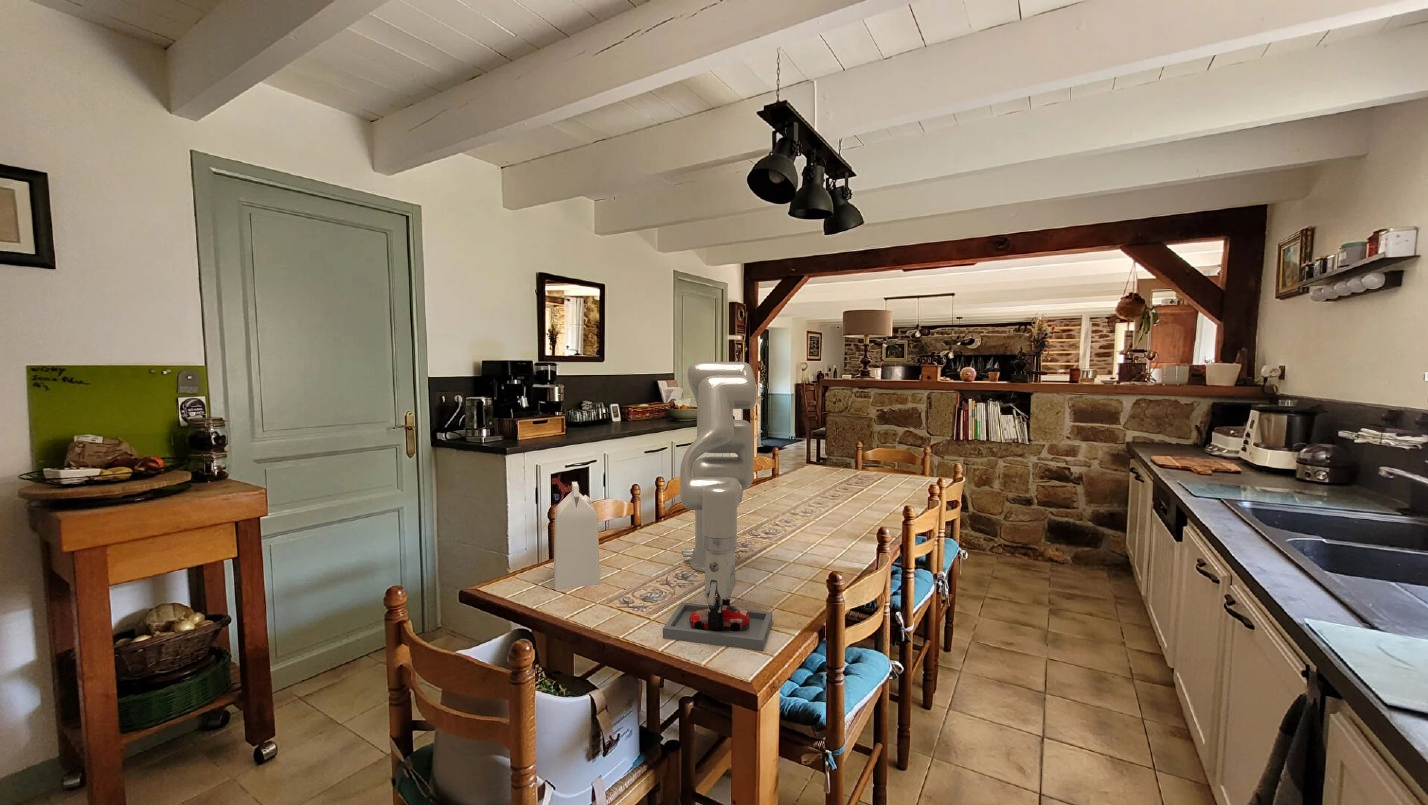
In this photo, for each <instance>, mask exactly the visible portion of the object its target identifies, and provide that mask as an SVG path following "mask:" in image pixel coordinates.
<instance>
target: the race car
mask: <svg viewBox="0 0 1428 805" xmlns="http://www.w3.org/2000/svg"><path fill="white" fill-rule="evenodd" d="M718 606H719V605H718ZM745 609H746V608H740V607H738V606H734V605H730V606H729V605H722V612H723V629H730V627H731V629H732V630H733V631H738V630H739V628H740V629H744V628H747V627H748V626H749V622H750V617H749V615H748V611H747V610H745ZM689 622H690V624H691V625H692V626H693V627H696V629H698V630H701V629H703V627H704V628H708V609H703V610H697V611H695V612H693V613H692V614H691V615H690V618H689Z"/></svg>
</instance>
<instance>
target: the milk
mask: <svg viewBox="0 0 1428 805" xmlns="http://www.w3.org/2000/svg"><path fill="white" fill-rule="evenodd" d="M598 519H599V518H598V512H597V509H596V507H595V505H594V504H593V500H592V499H591V498H590V497H589V496H588V495H587V494H584V495H583V494H582V493H581V492H580V486H579V484H578V481H571V492H570V493H568V494H567V495H566V497H564V498H563V499H562V500H561V501H560V502H559V503H558V504H557V505H556V507H555V511H554V542H553V543H554V546H553V551H554V552H553V580H554V589H555V591H557V590H564V589H572V588H582V587H590V586H599V585H601V571H600V570H601V568H600V567H601V565H600V564H601V562H600V542H599V524H598V523H599V522H598Z"/></svg>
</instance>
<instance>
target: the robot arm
mask: <svg viewBox="0 0 1428 805" xmlns="http://www.w3.org/2000/svg"><path fill="white" fill-rule="evenodd" d="M687 381H688V384H689V385H688V386H689V387H690V389H691V390H690V391H691V393H692V394H693V397H694V399H695V403H696V404H695V405H696V411H697V412H696V438H695V440H693V442H692V443H690V445H689V446H688V447H687V449H686V451H685V452H684V454H683V457H682V459H681V462H680V469H679V470H680V471H679V472H680V473H679V474H680V475H679V479H680V480H679V481H680V482H679V483H680V484H679V495H680V496H679V497H680V503H681V505H682V506H683V508H685V509H686V510H690V511H695V512H694V517H695V518H694V524H695V525H694V531H695V532H694V536H695V537H694V538H695V540H694V542H695V543H694V544H695V546H694V547H693V548H686V547H682V549H681V555H682V556H683V558H690V560H689V566H690V568H691V569H694V570H695V571H697V572H701V573H702V572H703V573H704V594H705V597H706V598H707V599H708V600H707V605H708V629H710V630H718V631H722V630H723V612H722V605H729V606H731V599H730V597H731V594H732V592H733V591H734V589H735V587H736V583H737V581H736V580H737V578H736V575H737V574H736V573H737V572H736V556H735V555H736V554H735V552H736V551H737V549H738V544H737V542H738V536H737V535H738V507H739V506H740V503H742V501H743V496H744V495H743V494H744V490H747V489H749V488H750V487H751V486H752V484H753V481H754V442H755V441H754V430H753V427H752V425H751V423H750V422H749V421H748V420H745V419H734V410H749V409H750V410H751V409H753V408H755V405H756V403H757V398H758V391H757V390H758V388H757V383H756V382H757V381H756V378H755V375H754V371H753V368H752V367H751V364H749V362H748V363H747V362H744V361H700V362H694V363H692V364H690V365H689V366H688V368H687ZM705 453H707V454H736V455H737V456H704V457H701V456H702V455H704V454H705ZM718 605H719V606H718Z"/></svg>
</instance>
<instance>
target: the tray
mask: <svg viewBox="0 0 1428 805" xmlns="http://www.w3.org/2000/svg"><path fill="white" fill-rule="evenodd" d="M703 609H708V604H703V603H702V604H701V603H694V602H693V603H691V602H684V601H683V602H682V601H681V603H680V604H679V605H678V607H677V608H676V609H675V611H674V612H673V613H672V615H671V616H670V617H669V619H668V620H667V621H666V623H665V624H664V626H663V627H662V639H665V640H672V641H673V640H674V641H680V642H681V641H683V642H691V643H695V644H696V643H697V644H698V643H699V644H705V645H713V646H723V647H727V648H728V647H729V648H737V649H745V650H752V651H759V652H763V651H764V649H765V646H766V642H767V640H768V636H769V634H770V630H771V627H772V625H773V611H764V610H757V609H746V608H744V609H745V610H747V611H748V615H749V617H750V622H749V626H748V627H747V628H744V629H740V628H739V630H738V631H733V630H732V629H731V627H730V629H723V630H722V631H718V630H710V629H708V628H704V627H703V629H701V630H698V629H696V627H693V626H692V625H691V624H690V622H689V618H690V615H691V614H692V613H693V612H695V611H697V610H703Z"/></svg>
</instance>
